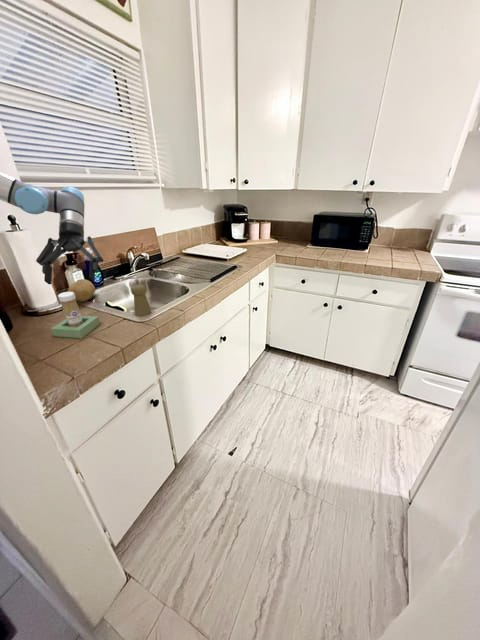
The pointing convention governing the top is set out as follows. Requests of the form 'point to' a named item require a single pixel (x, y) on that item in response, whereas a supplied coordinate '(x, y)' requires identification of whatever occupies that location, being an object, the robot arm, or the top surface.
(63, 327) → the holder
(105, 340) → the top surface
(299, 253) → the top surface
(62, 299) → the sprinkles bottle
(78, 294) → the potato
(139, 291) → the olive chess piece
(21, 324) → the top surface
